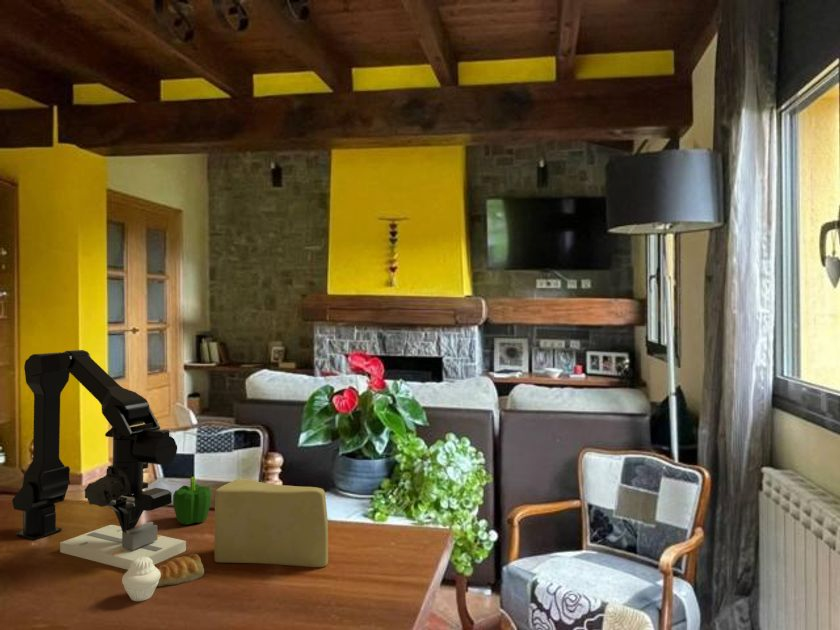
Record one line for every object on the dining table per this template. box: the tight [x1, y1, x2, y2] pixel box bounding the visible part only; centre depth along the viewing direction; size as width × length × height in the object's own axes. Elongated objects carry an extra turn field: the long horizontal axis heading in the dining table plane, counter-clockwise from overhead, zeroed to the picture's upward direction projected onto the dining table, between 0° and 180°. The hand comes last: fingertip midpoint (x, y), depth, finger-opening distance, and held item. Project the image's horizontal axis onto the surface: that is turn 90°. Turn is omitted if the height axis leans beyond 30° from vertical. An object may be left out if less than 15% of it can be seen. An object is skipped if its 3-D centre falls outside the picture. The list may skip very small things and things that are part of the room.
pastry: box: [156, 553, 205, 587], centre depth 118 cm, size 9×7×4 cm
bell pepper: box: [172, 476, 212, 526], centre depth 149 cm, size 8×8×10 cm
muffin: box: [121, 557, 161, 602], centre depth 110 cm, size 6×6×7 cm
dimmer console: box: [59, 524, 187, 571], centre depth 130 cm, size 22×12×2 cm, turn 65°
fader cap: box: [122, 521, 158, 550], centre depth 128 cm, size 3×6×4 cm, turn 155°
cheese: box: [214, 478, 329, 568], centre depth 126 cm, size 22×10×15 cm, turn 76°
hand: (127, 535), depth 130 cm, fingers closed
